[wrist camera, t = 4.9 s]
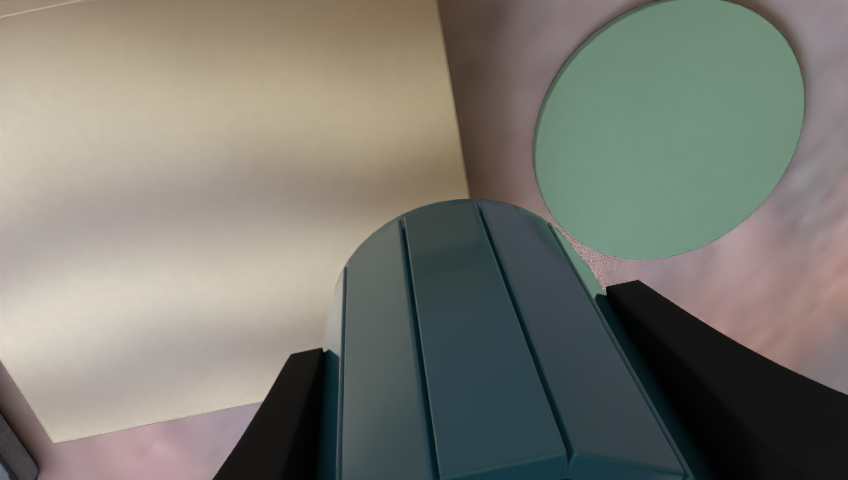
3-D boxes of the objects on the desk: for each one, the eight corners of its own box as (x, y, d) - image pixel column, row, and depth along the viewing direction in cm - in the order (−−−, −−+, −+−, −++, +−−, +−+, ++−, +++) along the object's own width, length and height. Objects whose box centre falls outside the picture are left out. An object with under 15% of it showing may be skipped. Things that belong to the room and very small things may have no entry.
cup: (596, 385, 15) (741, 691, 9) (365, 434, 15) (369, 766, 9) (576, 170, 12) (761, 411, 7) (298, 231, 13) (248, 519, 7)
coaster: (786, 227, 24) (792, 232, 24) (545, 276, 24) (548, 282, 24) (811, -32, 20) (819, -31, 20) (518, 29, 20) (520, 31, 20)
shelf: (480, 301, 25) (505, 385, 20) (87, 381, 25) (33, 481, 21) (408, -121, 18) (423, -122, 14) (-133, -8, 18) (-279, 25, 14)
